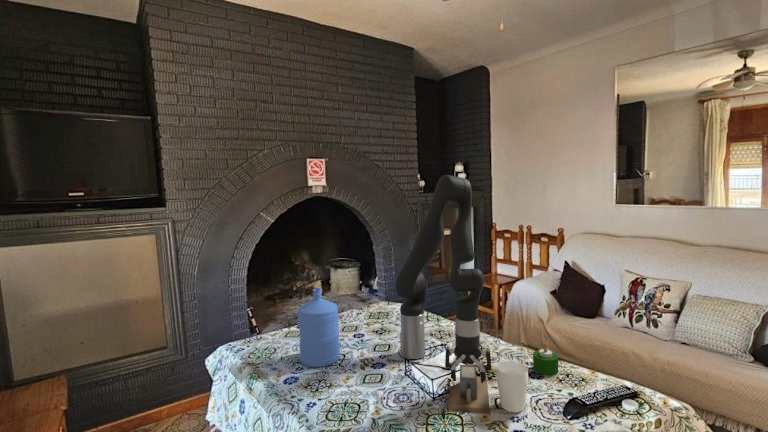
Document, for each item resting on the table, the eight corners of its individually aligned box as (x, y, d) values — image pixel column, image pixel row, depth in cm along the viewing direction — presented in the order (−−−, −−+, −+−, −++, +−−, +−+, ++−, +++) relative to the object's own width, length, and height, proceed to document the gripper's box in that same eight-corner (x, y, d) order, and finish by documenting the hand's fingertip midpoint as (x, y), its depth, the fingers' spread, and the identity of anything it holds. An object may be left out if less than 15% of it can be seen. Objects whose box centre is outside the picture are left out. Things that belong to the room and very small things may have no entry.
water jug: (348, 357, 153) (345, 288, 150) (316, 372, 141) (312, 297, 139) (323, 347, 163) (320, 282, 161) (292, 360, 152) (288, 290, 150)
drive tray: (448, 409, 115) (448, 392, 115) (450, 378, 134) (450, 363, 133) (490, 413, 113) (489, 396, 112) (486, 380, 131) (486, 365, 131)
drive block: (460, 398, 119) (460, 379, 118) (460, 382, 128) (460, 364, 128) (477, 399, 118) (476, 380, 117) (475, 383, 127) (475, 365, 127)
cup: (492, 399, 120) (491, 362, 119) (520, 397, 120) (520, 360, 119) (503, 416, 111) (503, 376, 110) (534, 414, 111) (533, 374, 110)
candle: (557, 366, 140) (557, 339, 139) (559, 377, 132) (559, 348, 131) (532, 363, 142) (532, 337, 142) (533, 374, 135) (533, 346, 134)
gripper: (443, 335, 119) (445, 385, 121) (491, 337, 116) (492, 388, 118) (445, 326, 127) (446, 373, 128) (489, 328, 124) (490, 376, 125)
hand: (468, 381), depth 123 cm, fingers open, 8 cm apart
